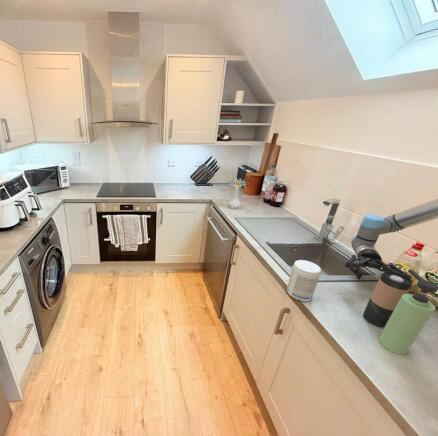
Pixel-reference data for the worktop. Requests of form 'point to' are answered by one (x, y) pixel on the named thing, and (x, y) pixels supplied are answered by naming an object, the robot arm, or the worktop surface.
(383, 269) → the robot arm
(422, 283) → the pump head
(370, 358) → the worktop surface
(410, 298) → the soap bottle
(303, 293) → the supplement tub
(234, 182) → the flower vase
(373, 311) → the travel mug
